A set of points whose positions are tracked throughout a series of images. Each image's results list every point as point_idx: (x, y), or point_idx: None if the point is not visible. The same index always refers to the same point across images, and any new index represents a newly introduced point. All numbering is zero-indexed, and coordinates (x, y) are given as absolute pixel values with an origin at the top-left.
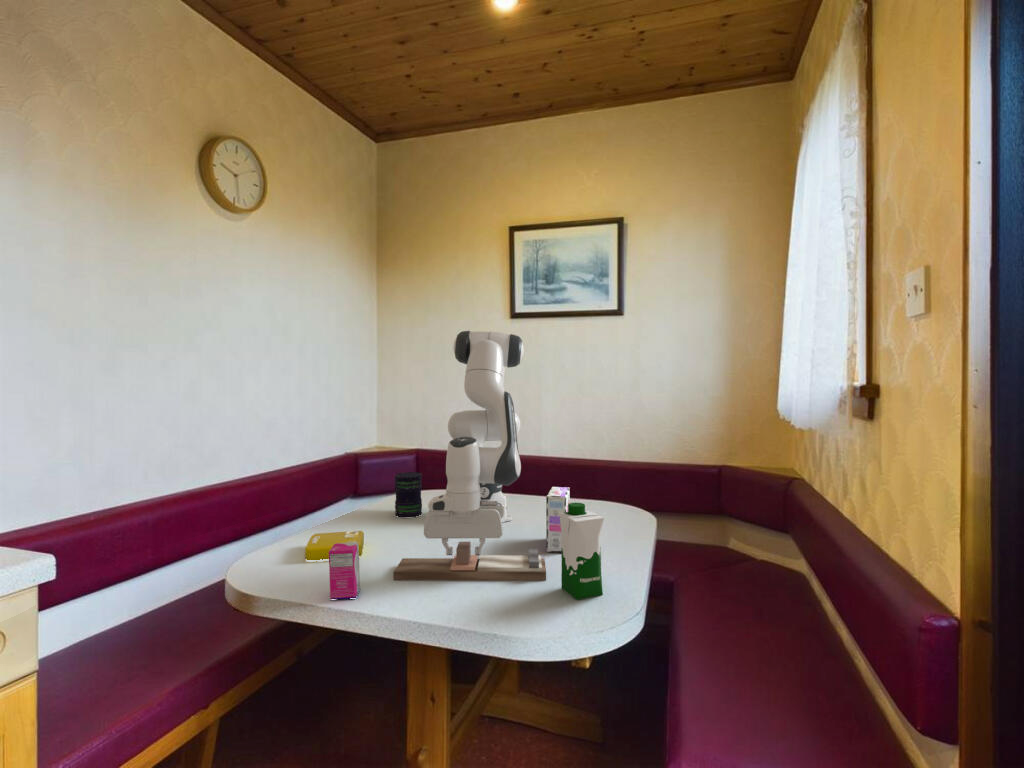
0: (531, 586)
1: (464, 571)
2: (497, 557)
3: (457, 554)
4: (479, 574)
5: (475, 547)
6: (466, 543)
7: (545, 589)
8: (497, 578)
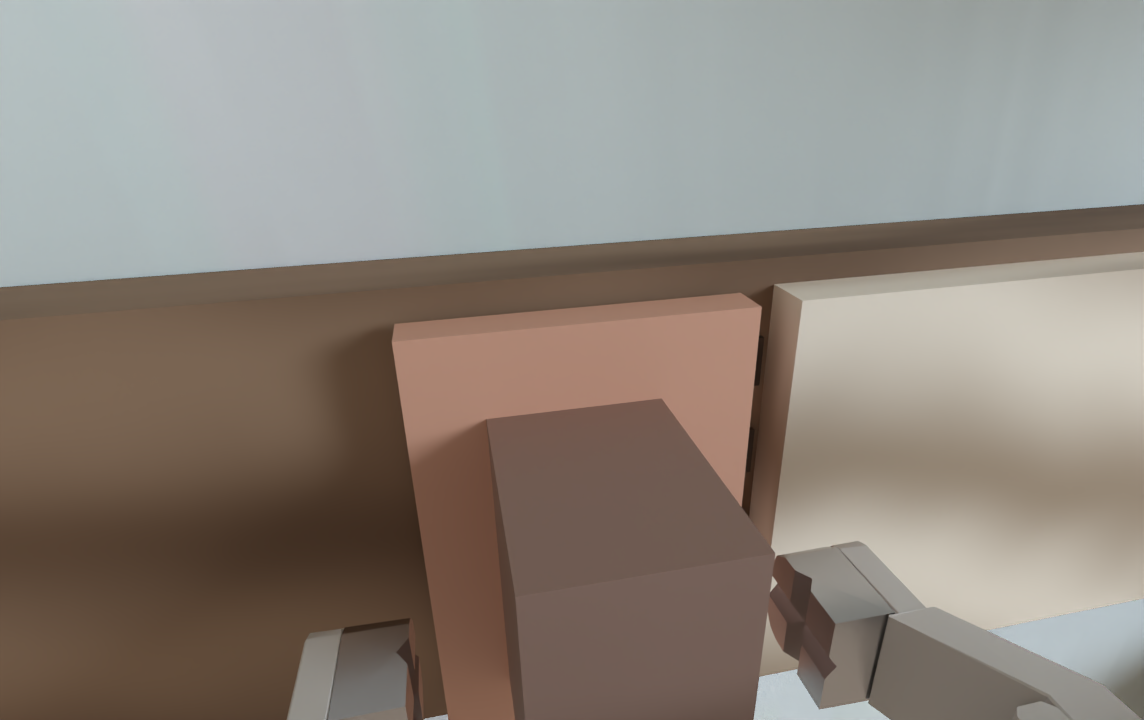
0: (1070, 616)
1: None
2: (1008, 363)
3: None
4: None
5: (830, 652)
6: (692, 664)
7: (1134, 638)
8: None
